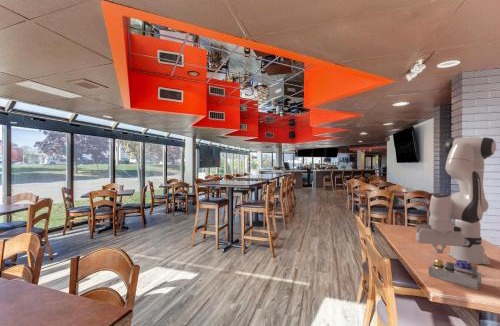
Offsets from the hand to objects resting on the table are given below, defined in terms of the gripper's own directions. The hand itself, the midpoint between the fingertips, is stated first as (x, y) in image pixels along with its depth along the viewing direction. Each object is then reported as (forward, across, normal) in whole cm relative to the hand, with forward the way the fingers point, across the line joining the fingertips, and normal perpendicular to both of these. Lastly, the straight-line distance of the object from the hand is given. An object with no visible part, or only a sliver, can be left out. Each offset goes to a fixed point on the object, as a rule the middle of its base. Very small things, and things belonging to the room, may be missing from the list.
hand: (438, 253), depth 123 cm
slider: (+6, +11, -8) cm, 15 cm away
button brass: (+7, 0, 0) cm, 7 cm away
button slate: (+7, +4, -2) cm, 9 cm away
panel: (+11, +4, -3) cm, 12 cm away
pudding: (+11, +16, +8) cm, 21 cm away
